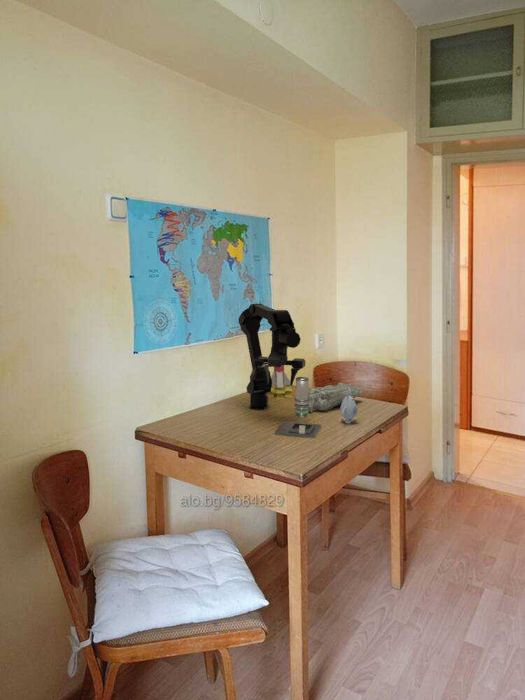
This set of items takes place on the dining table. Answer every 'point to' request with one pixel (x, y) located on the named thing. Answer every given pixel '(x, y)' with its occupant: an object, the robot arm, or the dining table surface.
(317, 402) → the stone
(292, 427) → the stand base
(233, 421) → the dining table surface
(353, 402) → the toy figure
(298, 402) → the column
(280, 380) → the toy rocket
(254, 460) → the dining table surface
